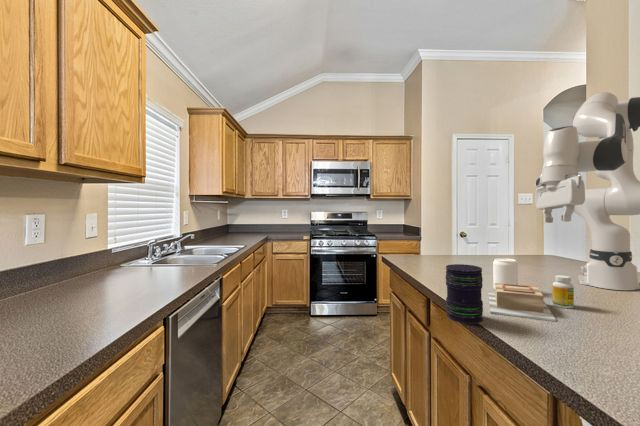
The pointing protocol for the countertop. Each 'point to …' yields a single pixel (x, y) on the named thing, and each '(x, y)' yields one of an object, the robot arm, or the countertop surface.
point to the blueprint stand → (519, 302)
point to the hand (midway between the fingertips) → (556, 222)
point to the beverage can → (505, 271)
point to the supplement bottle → (563, 292)
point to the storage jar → (464, 293)
